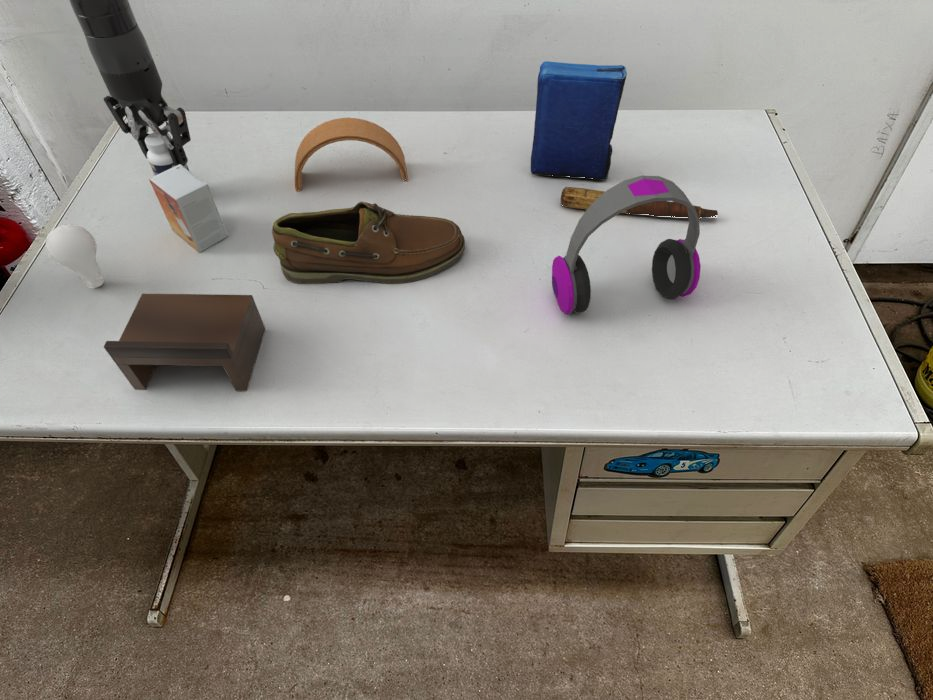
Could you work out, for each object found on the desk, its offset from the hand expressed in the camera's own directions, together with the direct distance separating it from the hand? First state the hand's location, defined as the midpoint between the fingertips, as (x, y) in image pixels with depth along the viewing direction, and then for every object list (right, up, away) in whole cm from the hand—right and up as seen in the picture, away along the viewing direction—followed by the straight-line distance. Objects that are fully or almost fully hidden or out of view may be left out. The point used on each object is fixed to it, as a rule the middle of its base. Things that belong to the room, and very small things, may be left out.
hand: (167, 160), depth 101 cm
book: (+68, +1, +10) cm, 69 cm away
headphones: (+73, -24, -9) cm, 77 cm away
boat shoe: (+35, -18, -5) cm, 40 cm away
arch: (+29, 0, +10) cm, 31 cm away
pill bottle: (0, -4, +4) cm, 6 cm away
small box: (+6, -12, 0) cm, 14 cm away
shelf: (+13, -33, -17) cm, 39 cm away
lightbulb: (-7, -22, -8) cm, 24 cm away
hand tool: (+79, -8, +3) cm, 79 cm away
